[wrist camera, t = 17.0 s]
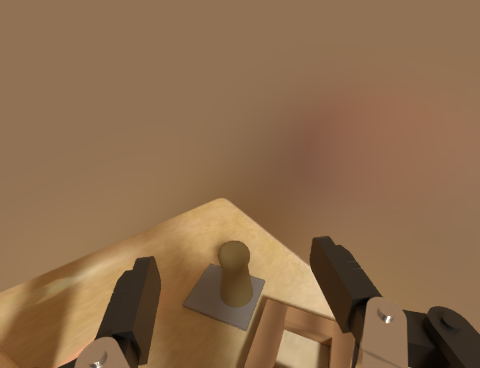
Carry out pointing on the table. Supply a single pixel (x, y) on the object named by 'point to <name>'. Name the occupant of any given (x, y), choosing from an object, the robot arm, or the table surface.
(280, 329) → the socket block
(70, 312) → the table surface
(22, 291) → the table surface
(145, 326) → the robot arm
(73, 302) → the table surface
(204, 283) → the rubber mat
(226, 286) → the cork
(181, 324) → the table surface
